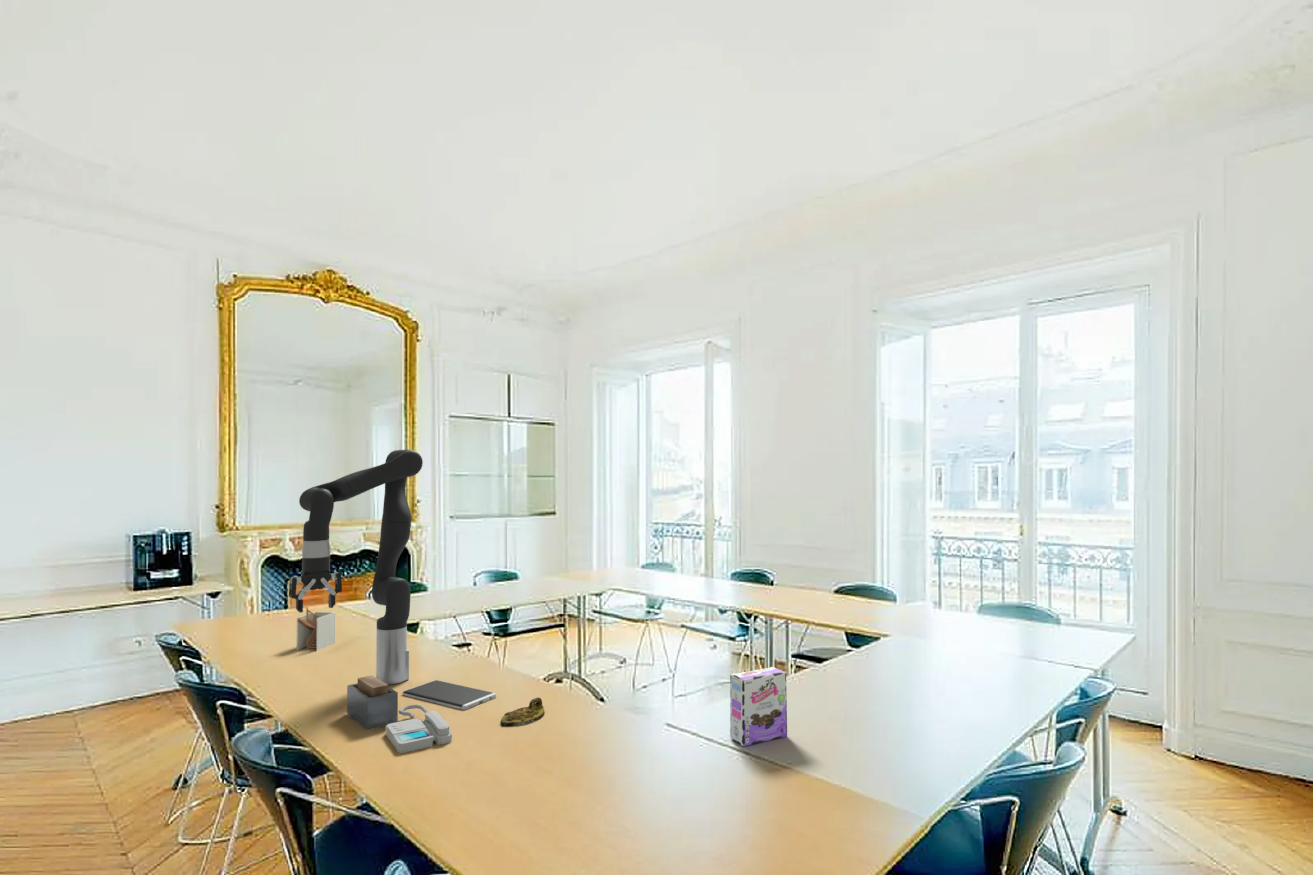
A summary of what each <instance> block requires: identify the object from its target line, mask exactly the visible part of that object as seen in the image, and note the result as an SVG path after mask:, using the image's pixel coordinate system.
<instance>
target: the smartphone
mask: <svg viewBox="0 0 1313 875" xmlns="http://www.w3.org/2000/svg"><path fill="white" fill-rule="evenodd" d="M402 696H405V697H409V698H413V699H416V700H420V701H426V702H429V703H433V704H436V705H437V704H438V705H441V706H445V707H449V708H453V709H456V710H462V711H465V710H469V709H471V708H474V707H476V706H479V705H480V704H484V703H485V702H488V701H491V700H493V699H496V698H497V693H495V692H491V691H487V690H483V689H478V688H473V687H469V686H464V685H459V684H455V683H452V682H447V681H442V680H439V679H438V680H436V679H434V680H431V681H428V682H426V683H423V684H420V685H417V686H412V687H411V688H407V689H405V690H403V691H402Z"/></svg>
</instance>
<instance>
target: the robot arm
mask: <svg viewBox="0 0 1313 875" xmlns="http://www.w3.org/2000/svg"><path fill="white" fill-rule="evenodd" d="M423 463H424V462H423V457H422V456H421V454H420V453H419V452H417V451H416V450H413V449H396V450H392V451H390V452H389V453H388V455H387V456H386V459H385V462H384V463H382V464H380V465H379V464H378V465H376V466H373V467H368V468H365V469H362V470H358V471H355V472H352V473H349V474H346V475H344V476H342V477H340V478H337V479H335V480H332V481H329V482H326V483H322V484H319V485H315V486H312V487H310V488H308V489H305V490H304V491H303V492H302V493H301V494H300V495H299V496H300V497H299V499H298V500H299V506H300V507H301V509H303V510H305V511H307V512H309V517H308V520H307V521H305V522H304V524H303V527H302V528H303V530H302V531H303V532H302V534H303V536H302V537H303V538H302V541H303V542H302V549H301V554H302V555H301V576H299V577H294V576H291V577H290V578H289V588H288V597H289V598H290V599H295V610H296V611H297V612H298V613H303V612H304V599H303V598H304V597H305V595H306V594H308V592H309V591H315V590H323V589H324V590H326V592H327V593H328V600H327V601H328V608H330V609H333V608H334V607H335V605H336V595H337V594H339V593H342V591H343V585H342V583H343V582H342V573H341V572H338V571H336V572H335V571H334V573H331V545H330V544H331V543H330V523H331V520H332V516H333V512H334V508H335V503H336V502H344V501H348V500H349V499H352V498H354V497H356V496H359V495H362V494H363V493H366V492H368V491H370V490H372V489H375V488H378V487H380V486H382V485H384V495H383V496H384V498H383V505H382V506H383V508H382V517H381V524H380V525H381V526H380V537H379V546H378V555H377V562H376V566H375V571H374V577H373V581H372V584H371V586H372V587H371V598H372V599H373V601H374V603H376V604H377V605H380V606H385V612H384V615H383V616H381V617H378V618H377V619H376V620H377V621H376V643H375V644H376V647H375V648H376V652H375V653H376V667H375V669H376V670H375V671H376V672H375V677H376V678H377V679H379V680H381V681H382V682H384V683H386V684H387V685H388V686H389V685H395V684H400V683H403V682H405V681H408V680H410V650H409V649H408V645H407V644H408V642H407V641H408V637H407V635H408V632H407V630H408V628H407V627H408V626H407V625H408V620H409V618H410V617H409V616H410V610H411V608H410V607H411V588H410V587H411V586H410V583H409V582H408V580H407V579H406V578H401V577H396V572H397V571H396V569H397V564H398V560H399V558H400V556H401V554H402V553H403V551H404V549H405V548H406V545H407V543H408V541H409V539H410V535H411V529H412V528H411V526H412V514H411V509H410V505H409V503H408V499H407V494H406V487H407V486H406V485H407V479H408V478H411V477H414V476H416V475H418V473H419V472H421V470H422V467H423ZM331 579H332V580H333V581H334V588H333V587H332V585H330V583H329V581H330V580H331ZM300 582H301V583H302V585H301V587H300V589H299V591H298V592H297V585H299V583H300Z"/></svg>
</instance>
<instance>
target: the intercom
mask: <svg viewBox="0 0 1313 875" xmlns="http://www.w3.org/2000/svg"><path fill="white" fill-rule="evenodd" d="M413 709H418V710H421V711H422V712H423V713H424V719H422V720H420V718H415V714H414V712H411V711H408V710H413ZM399 714H400V715H402V716H407V717H409V718H410V719H407V720H401V721H398V722H395V723H390V724H388V725H385V735H386V737H387V738H388V740H389V741H390V742H391V744H392V745H393V747H394V748H395V749H396V751H397V753H399V754H402V753H403V754H405V753H408V752H413V751H418V750H421V749H422V750H423V749H425V748H430V747H433V746H434V743H435V744H437V745H445V744H448V743H451V742H452V740H453V739H452V738H453V736H452V735H453V732H452V730H450V724H449V723H448V722H447V721H446V720H445V719H444V718H443V717H442V716H441V715H440V714H439V712H437V711H436V710H428V709H427V708H426V707H425V706H424V705H422V704H409V705H405V706H403V707H401V708H400V709H398V715H399Z"/></svg>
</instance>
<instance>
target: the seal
mask: <svg viewBox="0 0 1313 875" xmlns="http://www.w3.org/2000/svg"><path fill="white" fill-rule="evenodd" d="M545 712H546V710H545V707H544V705H543V700H542V698H541V697H535V698H532V699H530V701H529V704H528V706H524V707H520V708H517V709H514V710H512V711H508V712H506V713H504V715H503V716H502V717H501V719H500V725H501V726H507V727H508V726H511V727H519V726H525V725H529V724H531V723H534V722H536V721H539V720H541V718H543V717H544V716H545Z"/></svg>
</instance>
